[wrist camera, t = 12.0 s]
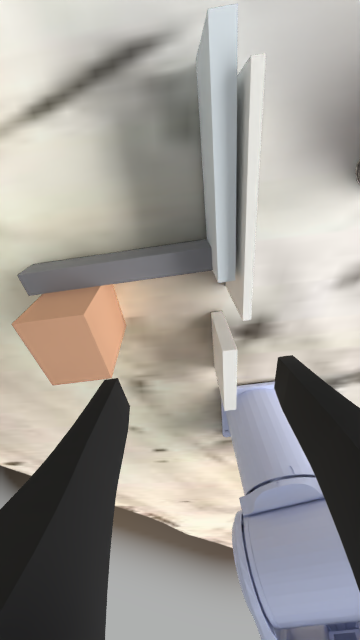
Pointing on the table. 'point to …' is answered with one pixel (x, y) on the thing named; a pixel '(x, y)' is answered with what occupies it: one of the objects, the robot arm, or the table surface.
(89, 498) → the robot arm
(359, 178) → the lighter
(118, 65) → the table surface
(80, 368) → the block
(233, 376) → the white thin slab
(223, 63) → the sliding door
